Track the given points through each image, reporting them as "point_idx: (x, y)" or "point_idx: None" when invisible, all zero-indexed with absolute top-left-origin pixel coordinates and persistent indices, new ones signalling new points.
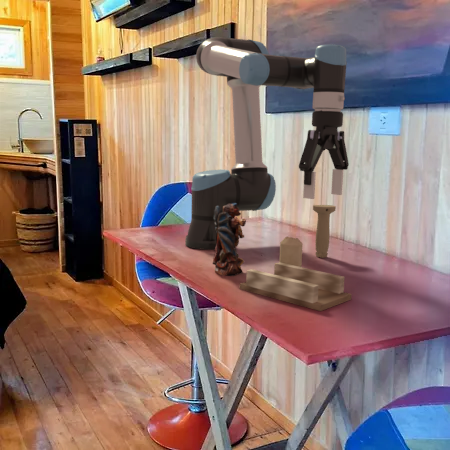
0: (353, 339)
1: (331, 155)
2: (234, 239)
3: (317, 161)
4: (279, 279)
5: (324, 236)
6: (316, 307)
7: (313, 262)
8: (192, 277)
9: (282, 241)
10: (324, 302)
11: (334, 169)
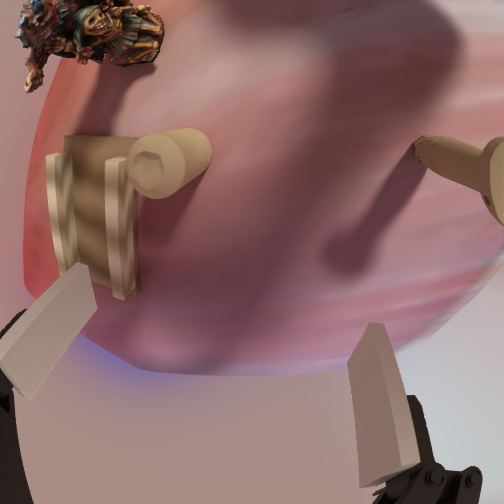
0: None
1: None
2: (72, 57)
3: (17, 453)
4: (51, 223)
5: (439, 169)
6: None
7: (359, 146)
8: None
9: (131, 150)
10: None
11: (393, 470)
